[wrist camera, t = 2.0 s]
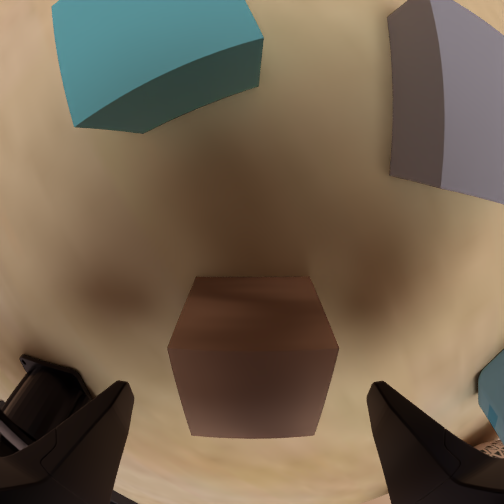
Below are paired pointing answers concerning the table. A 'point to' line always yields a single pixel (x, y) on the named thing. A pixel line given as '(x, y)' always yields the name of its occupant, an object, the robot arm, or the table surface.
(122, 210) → the table surface
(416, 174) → the slate base block
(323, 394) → the walnut cube
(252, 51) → the teal cube
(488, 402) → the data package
